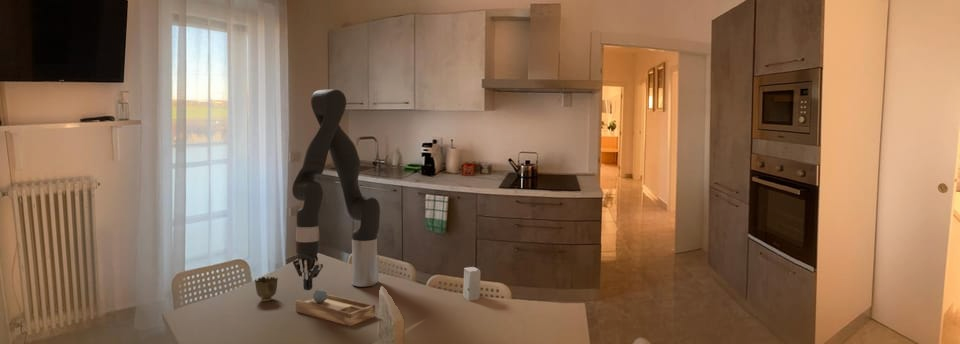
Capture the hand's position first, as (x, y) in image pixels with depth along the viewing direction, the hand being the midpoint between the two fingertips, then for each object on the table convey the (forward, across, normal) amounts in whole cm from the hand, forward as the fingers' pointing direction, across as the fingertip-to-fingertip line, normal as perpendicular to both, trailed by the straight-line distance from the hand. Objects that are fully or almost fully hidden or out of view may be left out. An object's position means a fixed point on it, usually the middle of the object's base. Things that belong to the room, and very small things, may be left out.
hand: (307, 289), depth 184 cm
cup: (+6, +17, +4) cm, 18 cm away
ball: (+1, -6, 0) cm, 6 cm away
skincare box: (+6, -43, -36) cm, 56 cm away
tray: (+6, -13, 0) cm, 14 cm away
